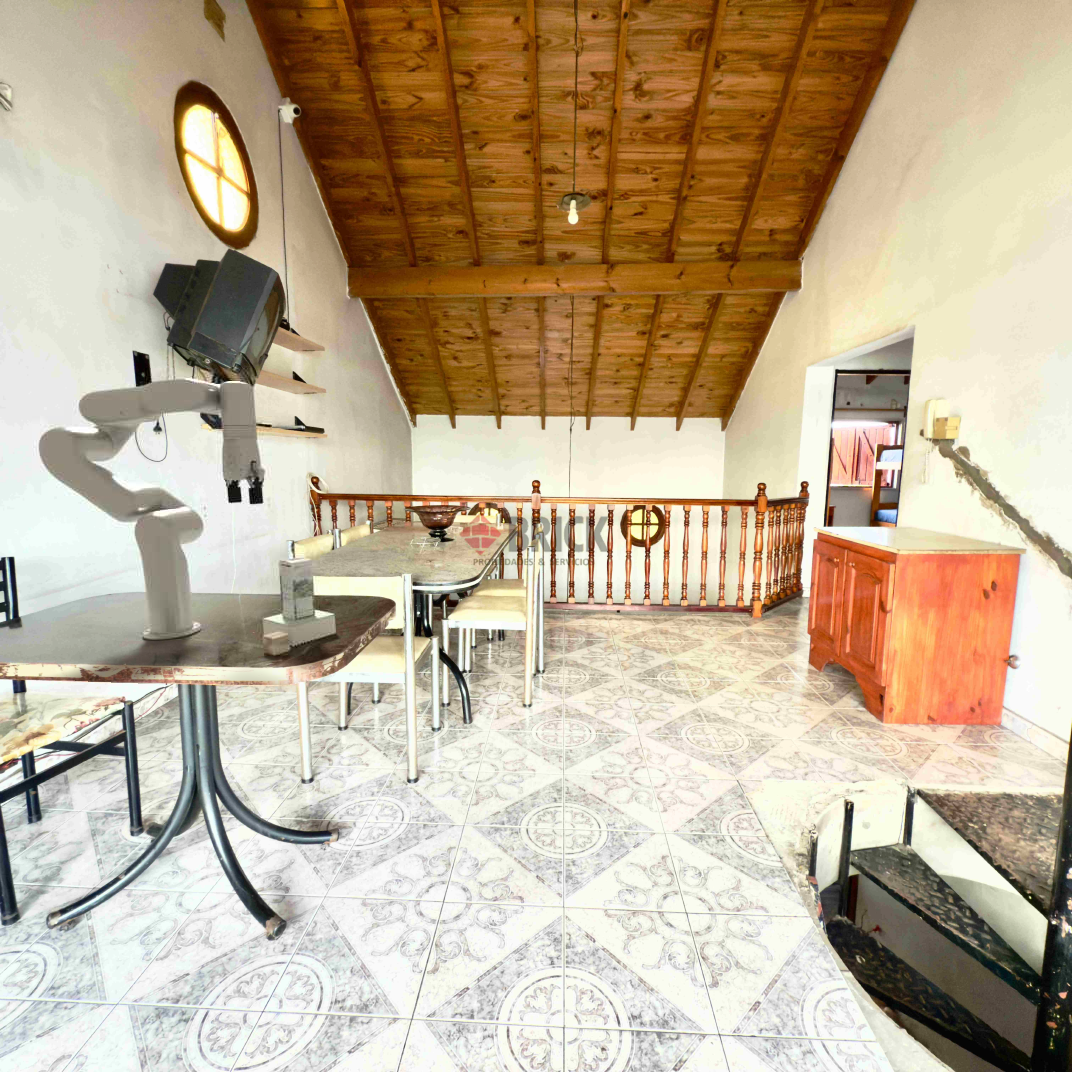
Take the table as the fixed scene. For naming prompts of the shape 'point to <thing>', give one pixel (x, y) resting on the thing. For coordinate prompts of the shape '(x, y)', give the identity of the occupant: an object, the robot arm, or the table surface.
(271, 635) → the ash block
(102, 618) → the table surface
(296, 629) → the podium
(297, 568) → the syrup box
